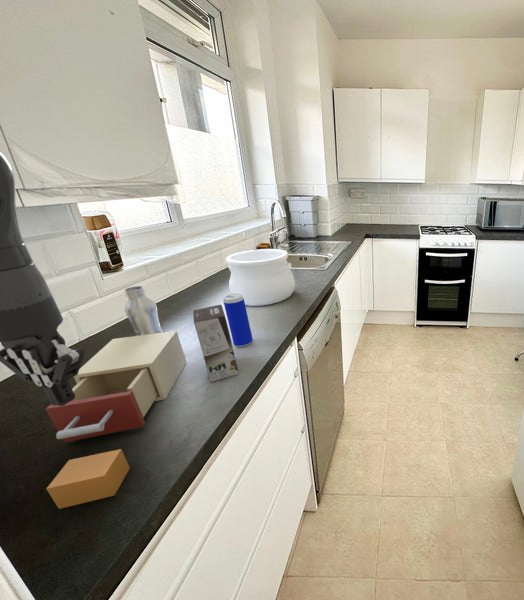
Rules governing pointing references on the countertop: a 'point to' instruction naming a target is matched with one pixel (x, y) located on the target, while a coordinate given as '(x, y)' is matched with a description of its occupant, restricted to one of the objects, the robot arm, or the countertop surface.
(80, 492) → the orange rectangular block
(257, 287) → the pot
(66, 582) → the countertop surface
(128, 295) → the plastic bottle
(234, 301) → the beverage can
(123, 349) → the cabinet
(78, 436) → the drawer
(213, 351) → the coffee box
